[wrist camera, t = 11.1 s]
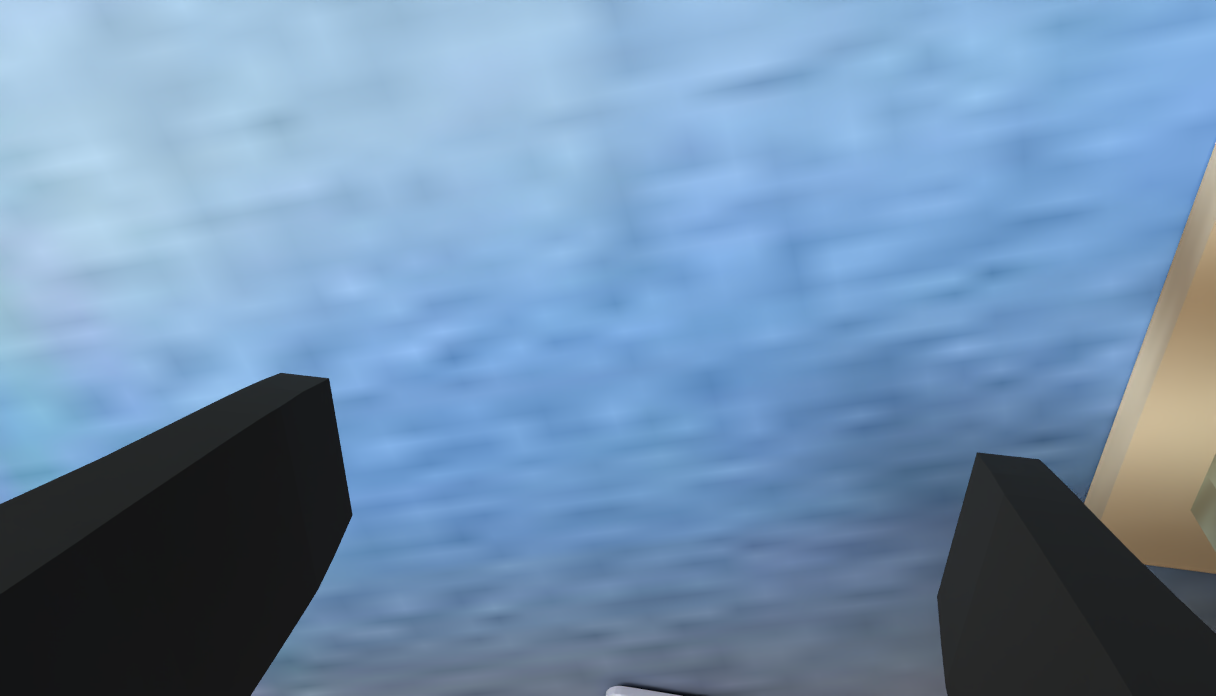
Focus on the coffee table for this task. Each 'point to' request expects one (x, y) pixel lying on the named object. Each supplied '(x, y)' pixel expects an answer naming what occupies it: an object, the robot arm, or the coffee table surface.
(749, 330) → the coffee table surface
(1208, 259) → the socket stand
